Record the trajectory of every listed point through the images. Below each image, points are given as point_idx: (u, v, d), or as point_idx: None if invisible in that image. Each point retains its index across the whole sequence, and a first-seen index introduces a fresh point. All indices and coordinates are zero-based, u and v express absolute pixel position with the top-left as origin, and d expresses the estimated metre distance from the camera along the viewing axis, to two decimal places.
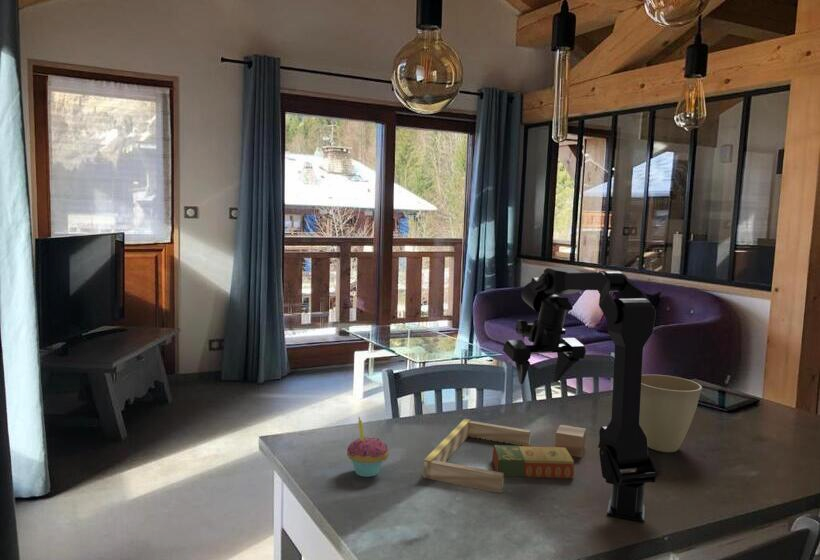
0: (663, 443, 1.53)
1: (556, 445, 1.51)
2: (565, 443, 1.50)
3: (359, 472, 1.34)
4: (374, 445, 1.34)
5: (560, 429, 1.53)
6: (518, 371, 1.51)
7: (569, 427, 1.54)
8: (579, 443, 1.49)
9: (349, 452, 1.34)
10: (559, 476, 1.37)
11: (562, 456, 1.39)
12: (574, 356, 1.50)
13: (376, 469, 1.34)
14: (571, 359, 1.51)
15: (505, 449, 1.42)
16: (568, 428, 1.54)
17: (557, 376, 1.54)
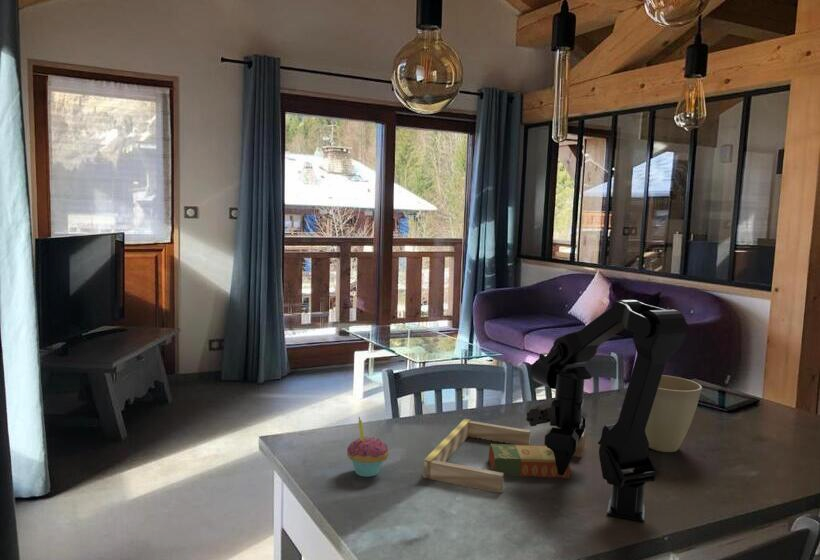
0: (663, 443, 1.53)
1: None
2: None
3: (359, 472, 1.34)
4: (374, 445, 1.34)
5: None
6: (559, 462, 1.34)
7: None
8: (579, 442, 1.49)
9: (349, 452, 1.34)
10: (555, 475, 1.37)
11: None
12: (585, 424, 1.43)
13: (376, 469, 1.34)
14: (581, 428, 1.43)
15: (501, 448, 1.42)
16: None
17: None
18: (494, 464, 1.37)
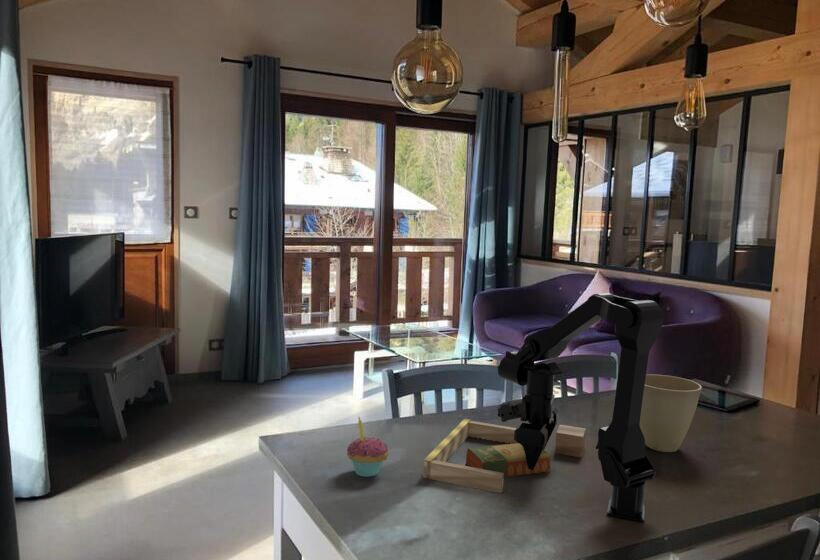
0: (663, 443, 1.53)
1: (556, 445, 1.51)
2: (566, 443, 1.50)
3: (359, 472, 1.34)
4: (374, 445, 1.34)
5: (560, 429, 1.53)
6: (529, 457, 1.36)
7: (569, 427, 1.54)
8: (579, 443, 1.49)
9: (349, 452, 1.34)
10: (537, 471, 1.39)
11: None
12: (556, 419, 1.45)
13: (376, 469, 1.34)
14: (552, 423, 1.46)
15: (481, 451, 1.40)
16: (568, 428, 1.54)
17: None
18: (482, 468, 1.35)
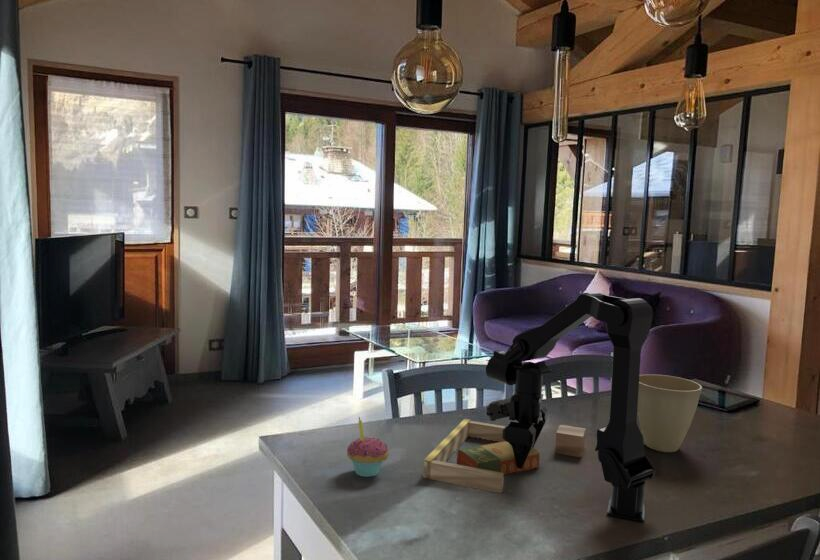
0: (663, 443, 1.53)
1: (556, 445, 1.51)
2: (566, 443, 1.50)
3: (359, 472, 1.34)
4: (374, 445, 1.34)
5: (560, 429, 1.53)
6: (518, 456, 1.37)
7: (569, 427, 1.54)
8: (580, 443, 1.49)
9: (349, 452, 1.34)
10: (528, 468, 1.41)
11: None
12: (545, 418, 1.46)
13: (376, 469, 1.34)
14: (541, 423, 1.46)
15: (473, 451, 1.40)
16: (568, 428, 1.54)
17: None
18: None
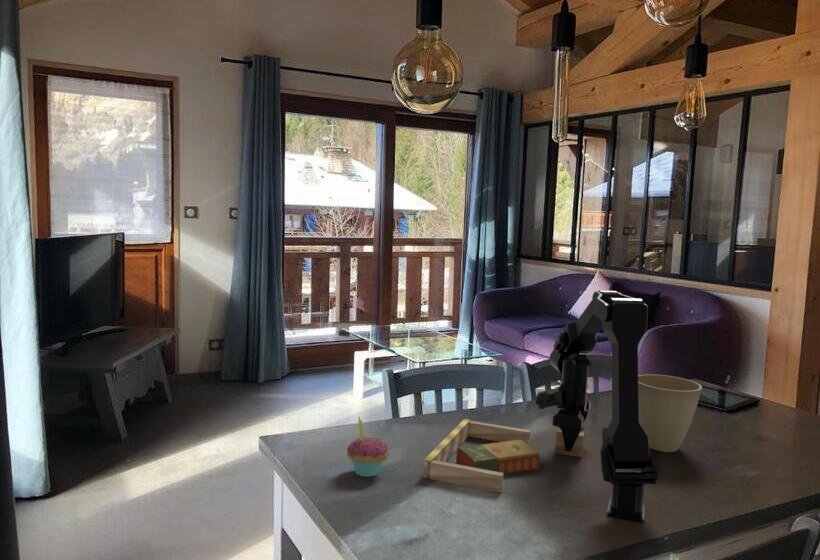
0: (663, 443, 1.53)
1: (556, 444, 1.51)
2: None
3: (359, 472, 1.34)
4: (374, 445, 1.34)
5: None
6: (567, 439, 1.49)
7: None
8: (580, 442, 1.49)
9: (349, 452, 1.34)
10: (527, 468, 1.40)
11: (526, 448, 1.43)
12: (588, 407, 1.56)
13: (376, 469, 1.34)
14: (584, 413, 1.55)
15: (472, 450, 1.41)
16: None
17: None
18: (474, 467, 1.36)
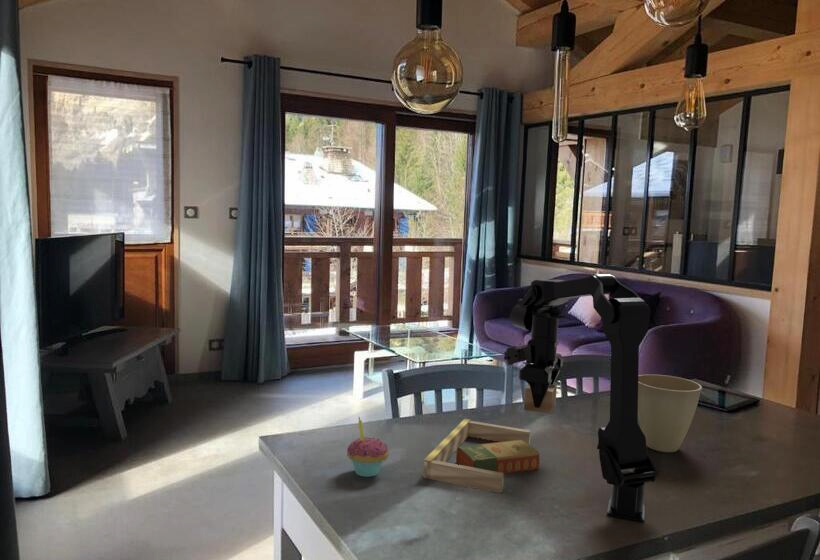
0: (663, 443, 1.53)
1: (525, 401, 1.46)
2: None
3: (359, 472, 1.34)
4: (374, 445, 1.34)
5: None
6: (535, 395, 1.44)
7: None
8: (549, 398, 1.44)
9: (349, 452, 1.34)
10: (527, 468, 1.40)
11: (526, 448, 1.43)
12: (560, 365, 1.52)
13: (376, 469, 1.34)
14: (556, 370, 1.51)
15: (471, 449, 1.41)
16: None
17: None
18: None
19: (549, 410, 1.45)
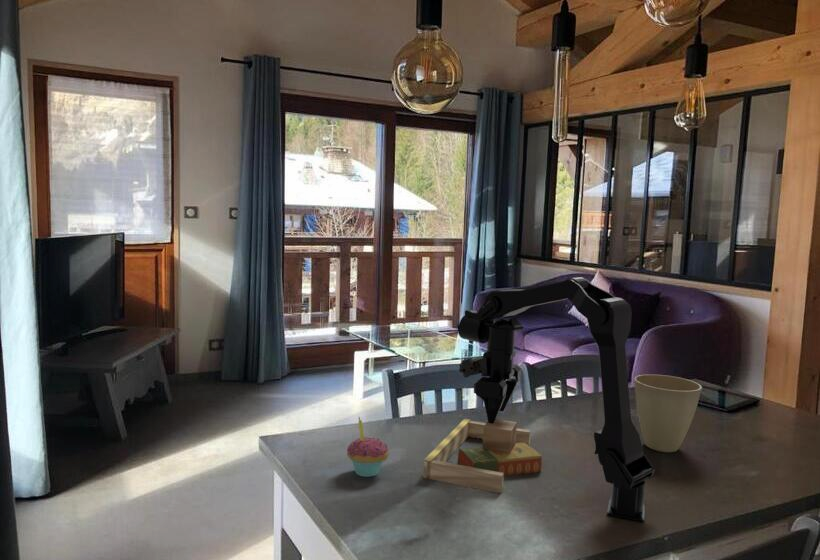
0: (663, 443, 1.53)
1: (484, 440, 1.41)
2: (494, 437, 1.41)
3: (359, 472, 1.34)
4: (374, 445, 1.34)
5: None
6: (489, 410, 1.39)
7: (499, 421, 1.45)
8: (508, 437, 1.39)
9: (349, 452, 1.34)
10: (529, 471, 1.39)
11: (528, 451, 1.41)
12: (518, 377, 1.48)
13: (376, 469, 1.34)
14: (514, 381, 1.48)
15: (473, 451, 1.40)
16: (498, 422, 1.44)
17: (504, 405, 1.48)
18: None
19: (508, 449, 1.40)
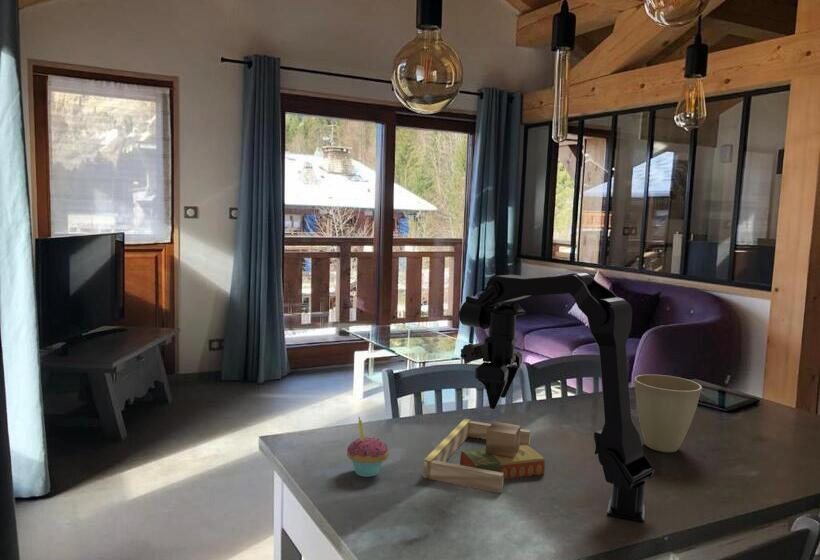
0: (663, 443, 1.53)
1: (487, 443, 1.39)
2: (497, 441, 1.38)
3: (359, 472, 1.34)
4: (374, 445, 1.34)
5: (492, 426, 1.41)
6: (491, 396, 1.39)
7: (503, 424, 1.43)
8: (511, 441, 1.37)
9: (349, 452, 1.34)
10: (531, 474, 1.38)
11: (531, 454, 1.40)
12: (519, 363, 1.48)
13: (376, 469, 1.34)
14: (515, 367, 1.48)
15: (475, 454, 1.39)
16: (502, 425, 1.42)
17: (505, 391, 1.48)
18: None
19: (512, 453, 1.37)
